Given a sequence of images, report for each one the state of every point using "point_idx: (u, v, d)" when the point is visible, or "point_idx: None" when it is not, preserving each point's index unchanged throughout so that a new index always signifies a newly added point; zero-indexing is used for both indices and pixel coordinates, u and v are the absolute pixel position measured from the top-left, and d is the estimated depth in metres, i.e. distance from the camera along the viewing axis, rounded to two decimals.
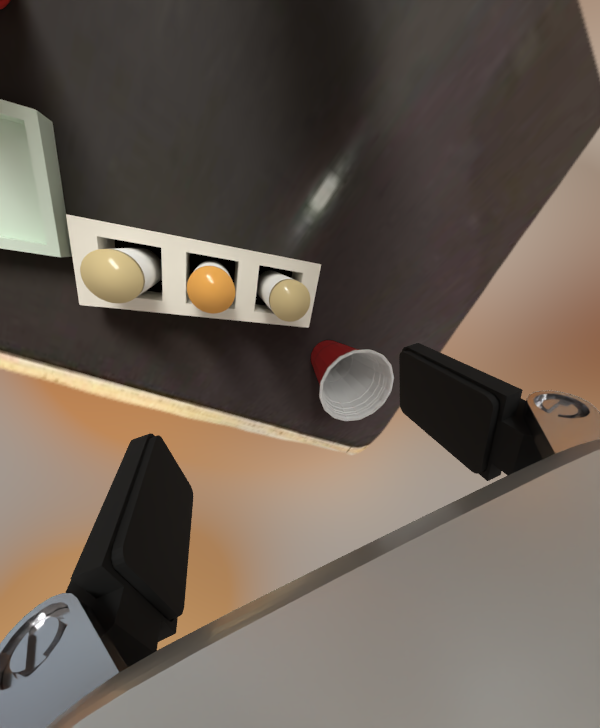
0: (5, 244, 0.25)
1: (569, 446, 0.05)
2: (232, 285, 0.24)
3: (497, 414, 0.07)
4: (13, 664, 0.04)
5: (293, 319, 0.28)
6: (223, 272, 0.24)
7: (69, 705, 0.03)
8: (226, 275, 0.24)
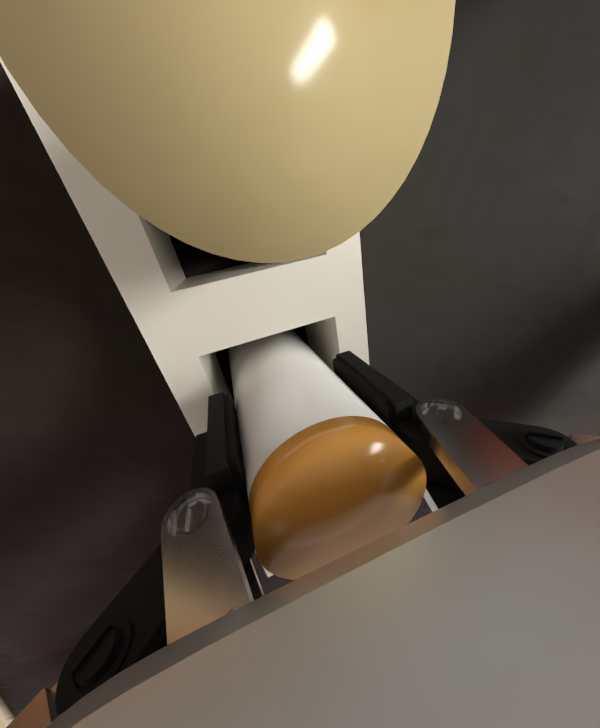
0: None
1: (464, 453, 0.05)
2: None
3: (393, 419, 0.07)
4: (177, 521, 0.06)
5: None
6: (413, 510, 0.07)
7: (207, 571, 0.04)
8: (406, 520, 0.07)
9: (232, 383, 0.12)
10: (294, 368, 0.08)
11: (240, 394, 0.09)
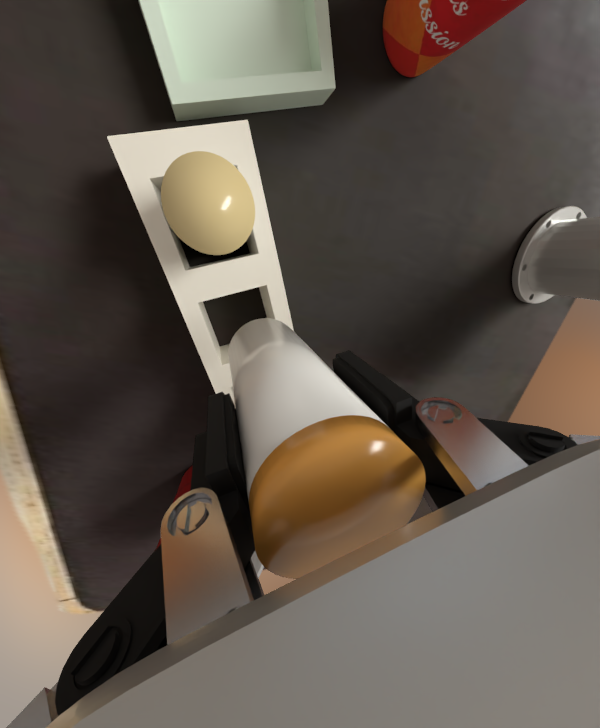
0: (149, 6, 0.15)
1: (464, 453, 0.05)
2: None
3: (393, 419, 0.07)
4: (177, 521, 0.06)
5: None
6: (412, 509, 0.07)
7: (207, 571, 0.04)
8: (405, 519, 0.07)
9: (232, 383, 0.12)
10: (293, 368, 0.08)
11: (240, 394, 0.09)
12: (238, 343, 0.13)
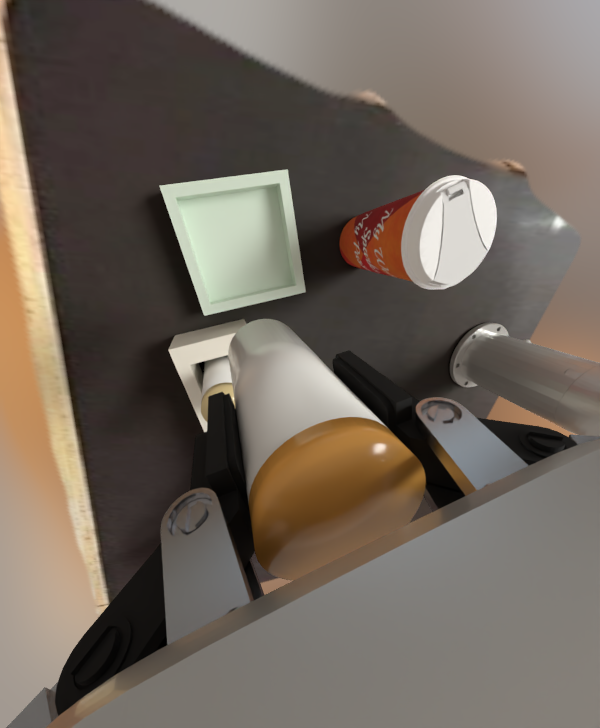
0: (194, 275, 0.26)
1: (464, 453, 0.05)
2: None
3: (393, 419, 0.07)
4: (177, 521, 0.06)
5: None
6: (412, 511, 0.07)
7: (207, 571, 0.04)
8: (405, 521, 0.07)
9: (232, 384, 0.12)
10: (293, 369, 0.08)
11: (240, 395, 0.09)
12: (238, 344, 0.13)
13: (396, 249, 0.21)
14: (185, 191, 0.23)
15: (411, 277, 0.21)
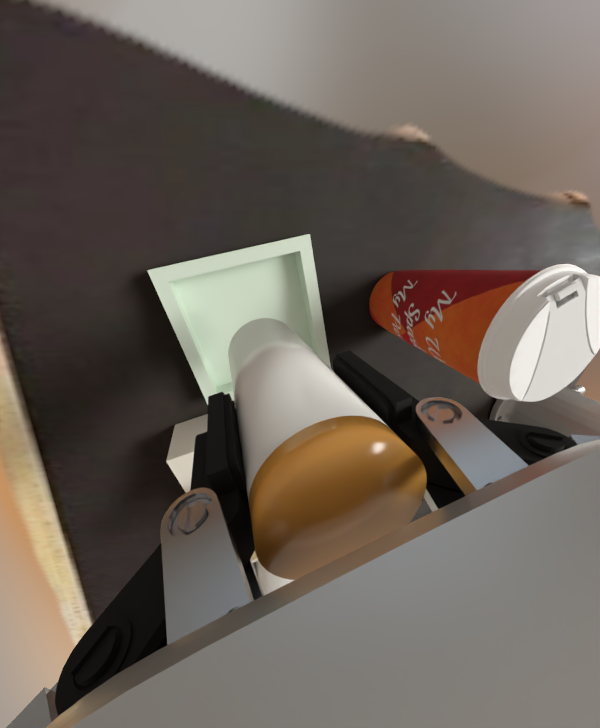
0: (196, 366, 0.21)
1: (464, 454, 0.05)
2: None
3: (392, 419, 0.07)
4: (177, 521, 0.06)
5: None
6: (413, 510, 0.07)
7: (207, 571, 0.04)
8: (406, 520, 0.07)
9: (232, 383, 0.12)
10: (293, 368, 0.08)
11: (240, 394, 0.09)
12: (238, 343, 0.13)
13: (466, 354, 0.15)
14: (181, 273, 0.18)
15: (487, 391, 0.15)
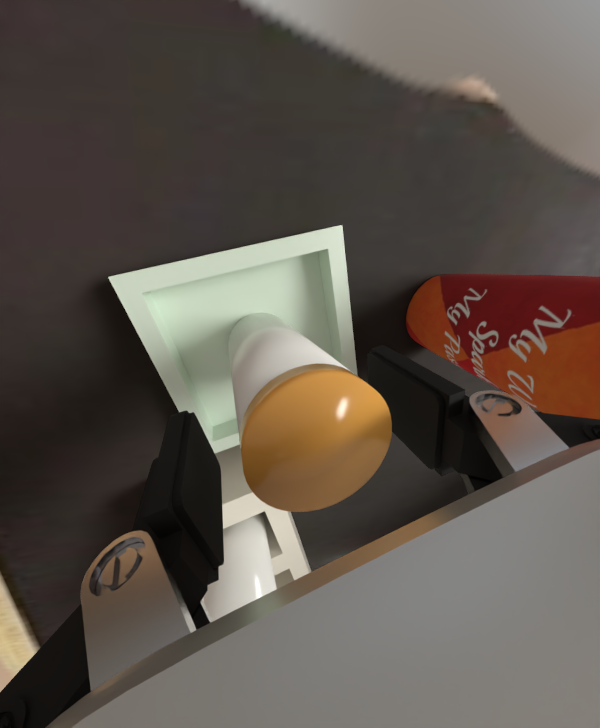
0: (184, 406, 0.15)
1: (514, 445, 0.05)
2: (355, 487, 0.08)
3: (443, 413, 0.07)
4: (103, 577, 0.05)
5: None
6: (383, 451, 0.08)
7: (142, 625, 0.04)
8: (377, 461, 0.08)
9: (230, 365, 0.13)
10: (281, 340, 0.10)
11: (235, 366, 0.10)
12: (236, 332, 0.14)
13: (598, 408, 0.10)
14: (159, 281, 0.12)
15: None
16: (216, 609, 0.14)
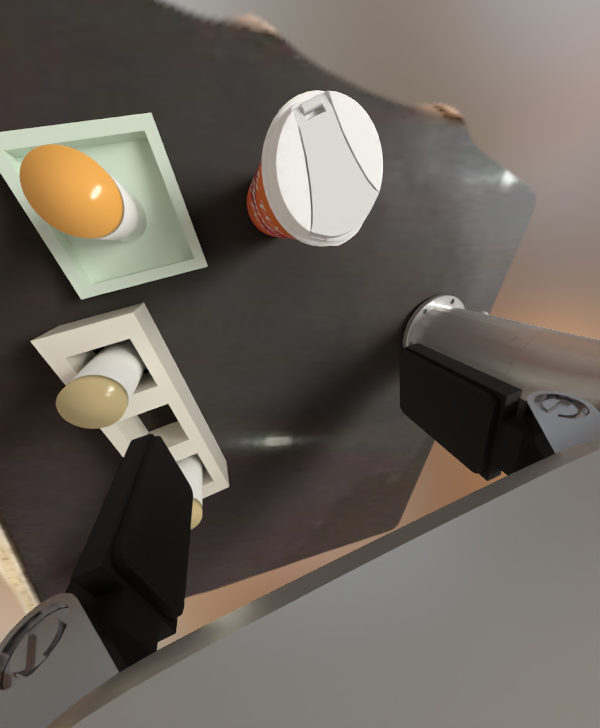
0: (56, 250, 0.22)
1: (569, 446, 0.05)
2: (106, 229, 0.15)
3: (497, 414, 0.07)
4: (13, 664, 0.04)
5: None
6: (118, 208, 0.15)
7: (69, 705, 0.03)
8: (116, 214, 0.15)
9: None
10: None
11: None
12: None
13: None
14: (15, 142, 0.19)
15: (288, 230, 0.17)
16: (76, 375, 0.20)
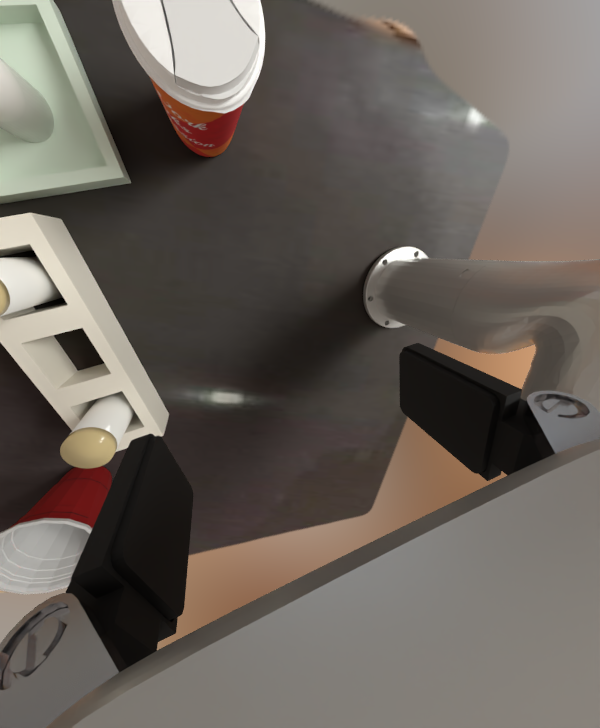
0: None
1: (569, 446, 0.05)
2: None
3: (497, 414, 0.07)
4: (13, 664, 0.04)
5: (70, 462, 0.25)
6: None
7: (69, 705, 0.03)
8: None
9: None
10: None
11: None
12: None
13: None
14: None
15: (156, 81, 0.15)
16: None
